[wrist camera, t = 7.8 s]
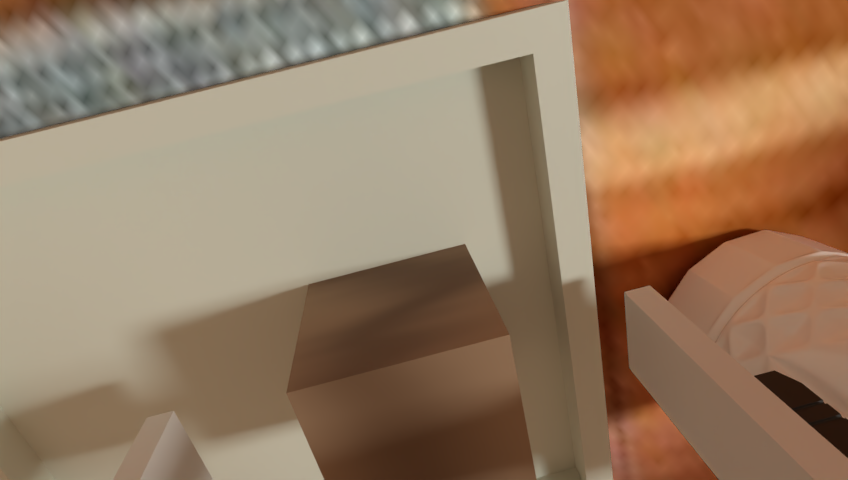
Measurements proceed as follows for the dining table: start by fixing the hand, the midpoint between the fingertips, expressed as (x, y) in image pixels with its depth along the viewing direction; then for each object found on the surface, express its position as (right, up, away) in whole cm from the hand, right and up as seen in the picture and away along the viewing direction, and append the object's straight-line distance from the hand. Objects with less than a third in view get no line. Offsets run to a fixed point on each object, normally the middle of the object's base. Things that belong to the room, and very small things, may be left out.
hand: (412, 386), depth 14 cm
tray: (-4, 0, +3) cm, 5 cm away
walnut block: (0, +1, +2) cm, 3 cm away
